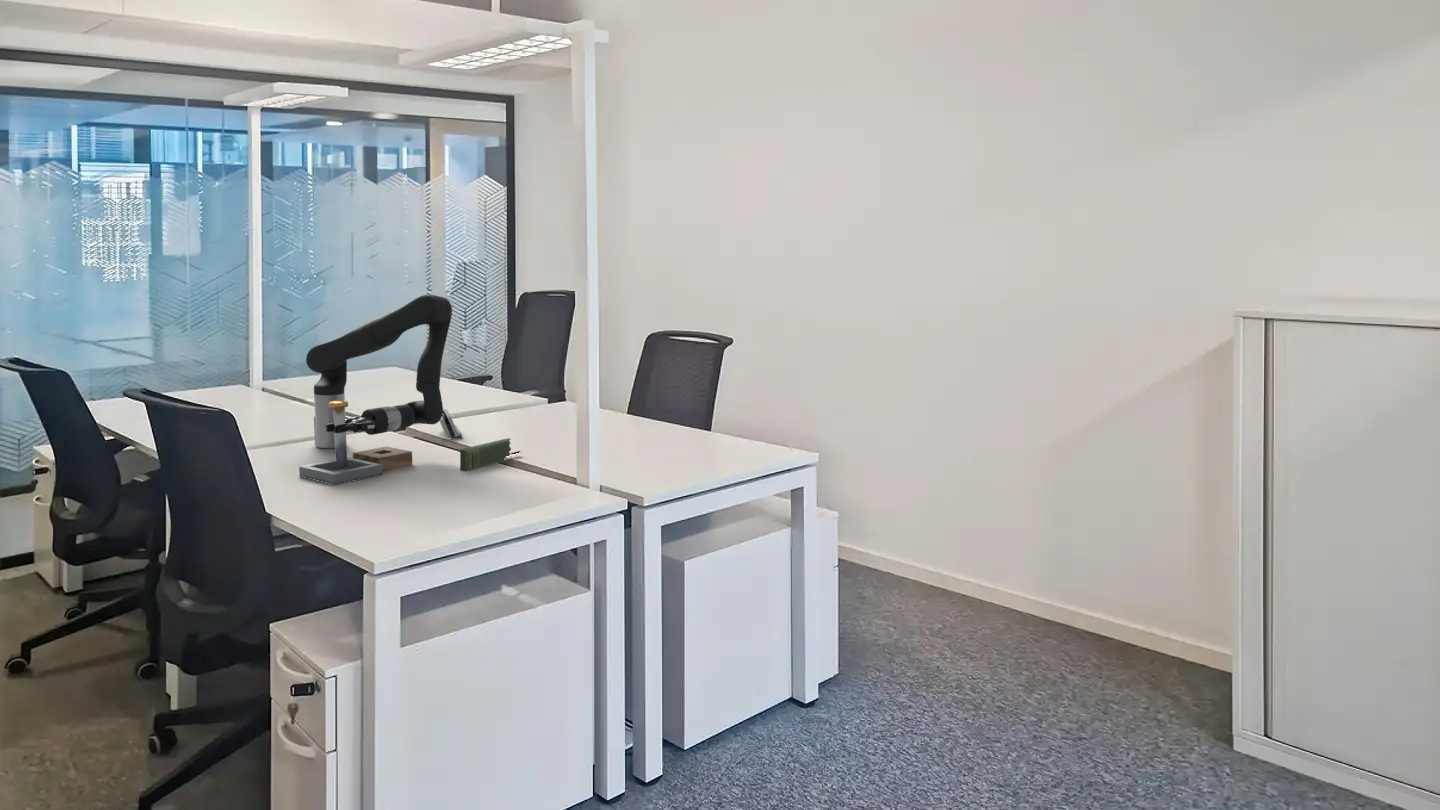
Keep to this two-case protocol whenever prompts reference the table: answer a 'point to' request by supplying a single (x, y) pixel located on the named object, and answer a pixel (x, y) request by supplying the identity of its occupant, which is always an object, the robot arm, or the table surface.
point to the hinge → (449, 425)
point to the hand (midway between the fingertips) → (331, 428)
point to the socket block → (386, 457)
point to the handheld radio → (484, 454)
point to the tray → (341, 470)
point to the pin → (339, 437)
